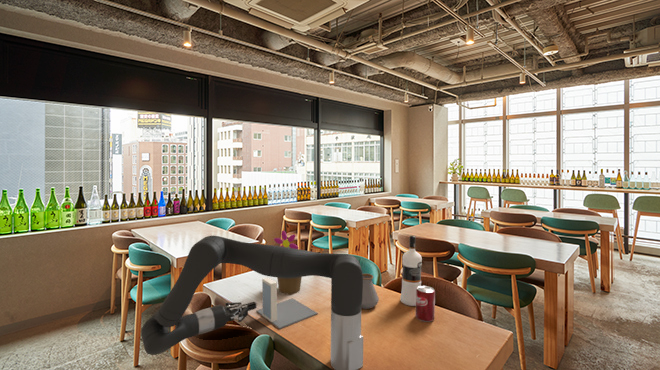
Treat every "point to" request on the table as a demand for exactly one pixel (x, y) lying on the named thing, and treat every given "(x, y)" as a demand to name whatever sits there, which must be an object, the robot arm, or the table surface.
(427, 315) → the soda can
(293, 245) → the flowerpot
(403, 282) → the vodka
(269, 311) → the slate tablet
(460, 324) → the table surface
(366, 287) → the coffee pot
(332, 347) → the robot arm
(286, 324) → the rubber mat
